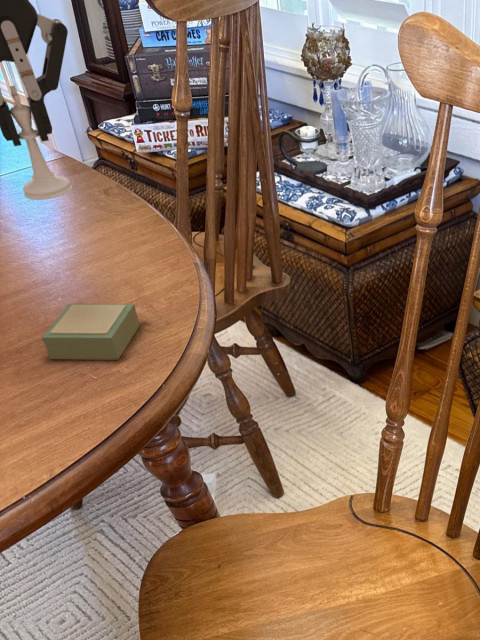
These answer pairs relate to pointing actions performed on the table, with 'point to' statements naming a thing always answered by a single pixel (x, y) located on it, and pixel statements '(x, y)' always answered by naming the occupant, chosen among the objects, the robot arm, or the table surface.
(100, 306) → the green square box
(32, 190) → the chess piece
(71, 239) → the table surface
